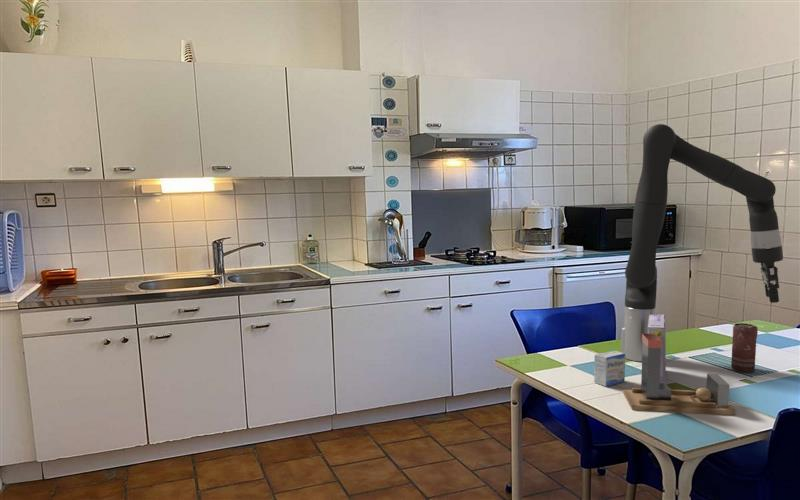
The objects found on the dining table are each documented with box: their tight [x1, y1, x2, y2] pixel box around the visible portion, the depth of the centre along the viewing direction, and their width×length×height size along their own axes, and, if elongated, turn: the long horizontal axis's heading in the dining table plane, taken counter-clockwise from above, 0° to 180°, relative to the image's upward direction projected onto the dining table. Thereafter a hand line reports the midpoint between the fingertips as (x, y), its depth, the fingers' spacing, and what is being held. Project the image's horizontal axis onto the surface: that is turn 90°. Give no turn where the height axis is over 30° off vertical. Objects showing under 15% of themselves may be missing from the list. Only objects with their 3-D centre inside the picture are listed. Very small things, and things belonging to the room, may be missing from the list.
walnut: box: [695, 386, 711, 401], centre depth 143 cm, size 4×4×4 cm
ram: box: [640, 333, 672, 401], centre depth 144 cm, size 6×6×16 cm
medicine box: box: [593, 350, 626, 388], centre depth 160 cm, size 8×4×9 cm, turn 117°
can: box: [730, 322, 759, 374], centre depth 168 cm, size 6×6×14 cm
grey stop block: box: [706, 373, 730, 408], centre depth 142 cm, size 2×8×6 cm, turn 169°
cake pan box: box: [648, 314, 667, 383], centre depth 163 cm, size 19×5×18 cm, turn 155°
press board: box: [622, 387, 736, 416], centre depth 144 cm, size 24×11×2 cm, turn 79°
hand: (772, 299), depth 164 cm, fingers open, 8 cm apart
